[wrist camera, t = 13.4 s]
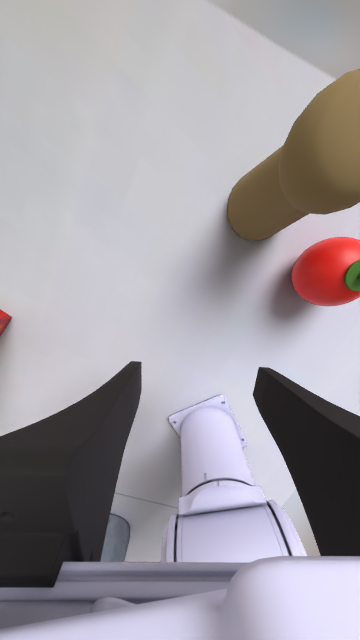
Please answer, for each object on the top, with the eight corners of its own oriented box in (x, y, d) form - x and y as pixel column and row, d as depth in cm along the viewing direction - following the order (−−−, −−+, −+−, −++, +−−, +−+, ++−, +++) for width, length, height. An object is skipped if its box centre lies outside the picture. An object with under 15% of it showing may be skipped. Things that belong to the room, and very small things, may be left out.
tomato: (342, 284, 20) (420, 294, 14) (288, 308, 21) (339, 329, 14) (329, 230, 19) (412, 212, 12) (272, 258, 19) (321, 255, 13)
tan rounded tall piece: (253, 154, 17) (385, -33, 6) (303, 195, 18) (490, 96, 7) (214, 218, 18) (267, 157, 8) (263, 253, 19) (369, 241, 9)
